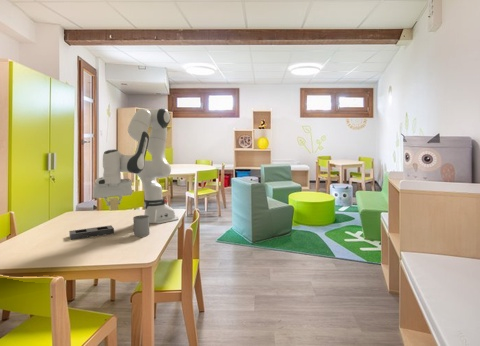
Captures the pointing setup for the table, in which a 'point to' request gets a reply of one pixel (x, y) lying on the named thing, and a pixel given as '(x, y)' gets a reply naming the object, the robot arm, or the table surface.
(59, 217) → the table surface
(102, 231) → the rail
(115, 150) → the robot arm
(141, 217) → the cup
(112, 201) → the block
